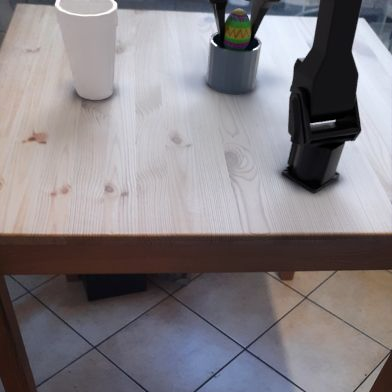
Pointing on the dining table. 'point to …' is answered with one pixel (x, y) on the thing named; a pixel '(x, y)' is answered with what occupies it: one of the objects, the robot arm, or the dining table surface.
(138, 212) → the dining table surface
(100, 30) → the foam cup
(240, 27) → the egg
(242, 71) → the cup
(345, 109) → the robot arm
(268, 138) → the dining table surface
